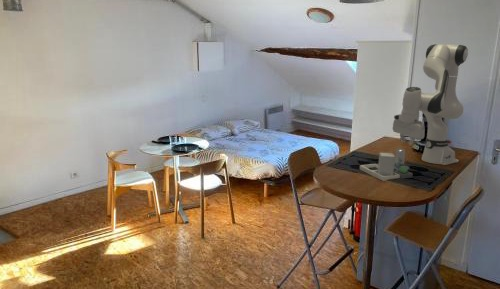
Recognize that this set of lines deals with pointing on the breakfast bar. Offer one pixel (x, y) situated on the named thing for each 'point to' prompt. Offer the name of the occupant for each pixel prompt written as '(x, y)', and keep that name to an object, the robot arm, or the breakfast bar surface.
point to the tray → (398, 168)
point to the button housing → (402, 176)
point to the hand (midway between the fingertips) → (406, 143)
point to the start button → (403, 169)
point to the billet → (399, 158)
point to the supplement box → (386, 164)
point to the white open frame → (375, 172)
